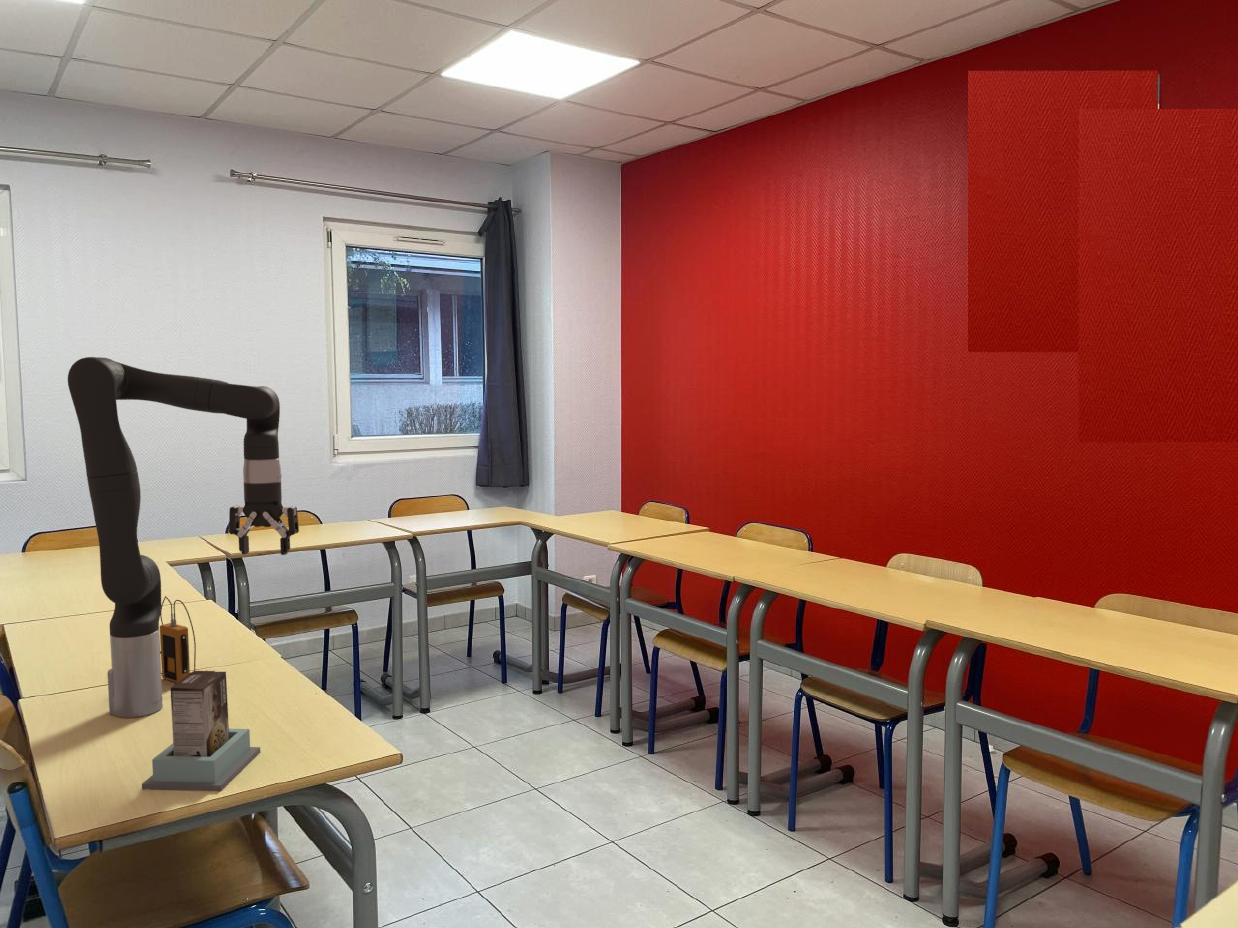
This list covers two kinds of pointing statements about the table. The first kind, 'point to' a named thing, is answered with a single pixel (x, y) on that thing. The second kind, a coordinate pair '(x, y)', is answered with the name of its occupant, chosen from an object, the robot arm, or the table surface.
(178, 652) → the multimeter
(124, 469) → the robot arm
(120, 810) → the table surface
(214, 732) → the coffee box
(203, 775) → the box
